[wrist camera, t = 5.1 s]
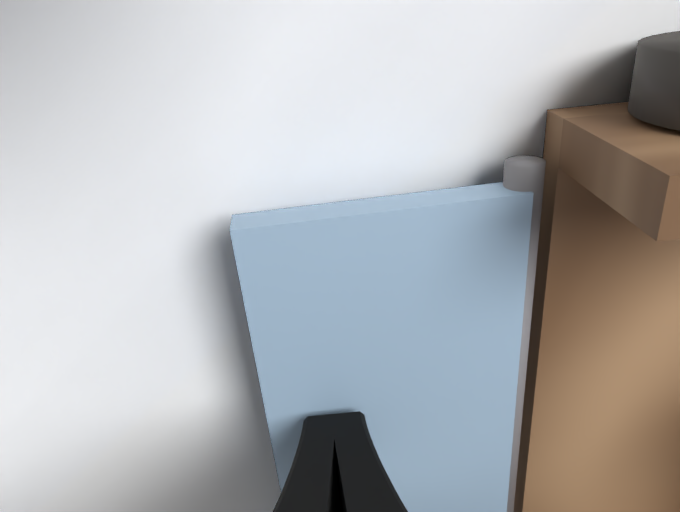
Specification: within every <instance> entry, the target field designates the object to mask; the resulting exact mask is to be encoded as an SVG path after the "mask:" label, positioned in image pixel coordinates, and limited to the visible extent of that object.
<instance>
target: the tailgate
mask: <svg viewBox="0 0 680 512" xmlns="http://www.w3.org/2000/svg"><path fill="white" fill-rule="evenodd" d="M545 167H546V161H545V160H544V159H543V158H540V157H536V156H527V155H522V156H513V157H509V158H507V159H505V160H504V174H503V182H498V183H490V184H482V185H474V186H465V187H457V188H449V189H441V190H432V191H424V192H416V193H408V194H399V195H391V196H383V197H375V198H366V199H358V200H350V201H342V202H334V203H325V204H317V205H309V206H301V207H292V208H284V209H276V210H268V211H259V212H251V213H243V214H235V215H232V220H231V226H230V235H231V240H232V245H233V250H234V255H235V261H236V266H237V271H238V276H239V281H240V286H241V291H242V296H243V301H244V306H245V311H246V317H247V322H248V327H249V332H250V337H251V342H252V347H253V352H254V357H255V362H256V367H257V373H258V378H259V383H260V388H261V393H262V398H263V403H264V408H265V413H266V418H267V423H268V429H269V434H270V439H271V444H272V449H273V454H274V459H275V464H276V469H277V474H278V479H279V485H280V490H281V492H282V490H283V487H284V484H285V482H286V479H287V476H288V474H289V471H290V469H291V466H292V463H293V460H294V457H295V454H296V451H297V447H298V444H299V440H300V436H301V432H302V428H303V422H304V420H305V419H306V418H307V417H308V416H316V415H327V414H337V413H347V412H358V411H360V412H361V413H363V414H364V415H365V420H366V423H367V427H368V430H369V433H370V436H371V439H372V441H373V444H374V446H375V449H376V451H377V454H378V456H379V458H380V460H381V462H382V465H383V467H384V469H385V471H386V473H387V475H388V476H389V478H390V480H391V482H392V484H393V486H394V488H395V490H396V492H397V494H398V495H399V497H400V499H401V501H402V503H403V504H404V506H405V508H406V509H407V511H408V512H513V511H514V500H515V489H516V479H517V468H518V457H519V446H520V436H521V425H522V414H523V403H524V393H525V382H526V371H527V360H528V350H529V339H530V328H531V317H532V307H533V296H534V285H535V274H536V264H537V253H538V242H539V231H540V221H541V210H542V199H543V188H544V178H545Z"/></svg>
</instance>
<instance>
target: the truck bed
mask: <svg viewBox="0 0 680 512" xmlns="http://www.w3.org/2000/svg"><path fill="white" fill-rule="evenodd" d="M543 159H544V160H545V161H546V167H545V178H544V188H543V199H542V210H541V221H540V231H539V242H538V253H537V264H536V274H535V285H534V296H533V307H532V317H531V328H530V339H529V350H528V360H527V371H526V382H525V393H524V403H523V414H522V425H521V436H520V446H519V457H518V468H517V479H516V489H515V500H514V511H513V512H680V31H677V32H670V33H663V34H658V35H653V36H649V37H645V38H643V39H641V40H639V41H638V45H637V51H636V58H635V64H634V71H633V77H632V83H631V90H630V96H629V102H622V103H612V104H601V105H591V106H581V107H570V108H560V109H550V110H547V120H546V131H545V142H544V153H543Z"/></svg>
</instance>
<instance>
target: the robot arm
mask: <svg viewBox="0 0 680 512" xmlns="http://www.w3.org/2000/svg"><path fill="white" fill-rule="evenodd" d="M273 512H408V511H407V509H406V508H405V506H404V504H403V503H402V501H401V499H400V497H399V495H398V494H397V492H396V490H395V488H394V486H393V484H392V482H391V480H390V478H389V476H388V475H387V473H386V471H385V469H384V467H383V465H382V462H381V460H380V458H379V456H378V454H377V451H376V449H375V446H374V444H373V441H372V439H371V436H370V433H369V430H368V427H367V423H366V420H365V415H364V414H363V413H361V412H360V411H358V412H347V413H337V414H327V415H316V416H308V417H307V418H306V419H305V420H304V422H303V428H302V432H301V436H300V440H299V444H298V447H297V451H296V454H295V457H294V460H293V463H292V466H291V469H290V471H289V474H288V476H287V479H286V482H285V484H284V487H283V490H282V492H281V495H280V497H279V499H278V502H277V504H276V506H275V508H274V511H273Z"/></svg>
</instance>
